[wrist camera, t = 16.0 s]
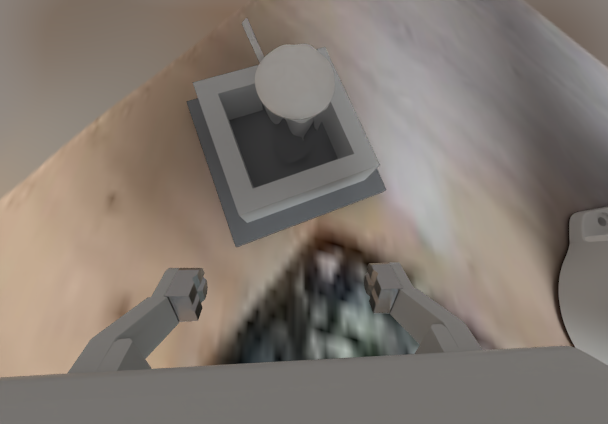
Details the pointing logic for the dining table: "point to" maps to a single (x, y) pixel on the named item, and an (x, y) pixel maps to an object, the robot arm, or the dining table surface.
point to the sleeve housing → (272, 170)
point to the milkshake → (292, 94)
